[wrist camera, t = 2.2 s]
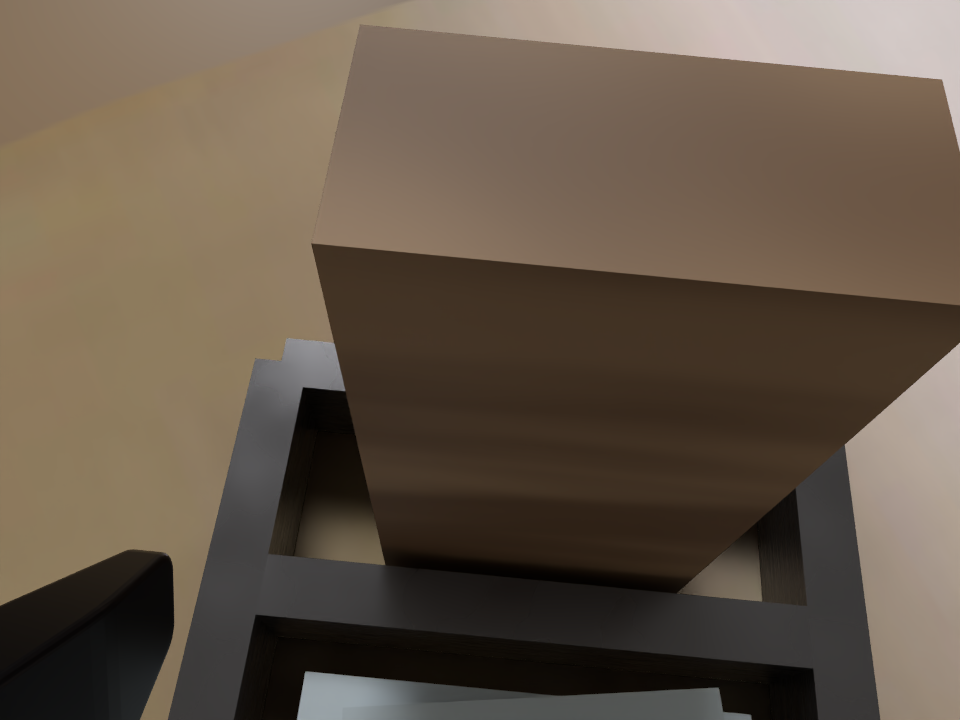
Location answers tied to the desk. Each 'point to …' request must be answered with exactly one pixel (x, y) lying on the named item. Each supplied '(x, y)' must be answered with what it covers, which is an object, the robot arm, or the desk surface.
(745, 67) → the walnut panel
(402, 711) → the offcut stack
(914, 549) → the desk surface
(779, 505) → the dark grey divided tray
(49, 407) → the desk surface
